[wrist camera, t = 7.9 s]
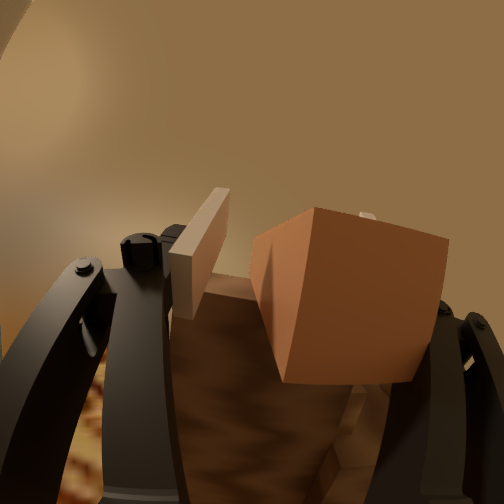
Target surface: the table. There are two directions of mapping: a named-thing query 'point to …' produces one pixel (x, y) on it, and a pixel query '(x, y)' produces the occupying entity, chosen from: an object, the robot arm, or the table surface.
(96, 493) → the table surface
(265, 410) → the brown stepped wooden block
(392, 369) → the block
